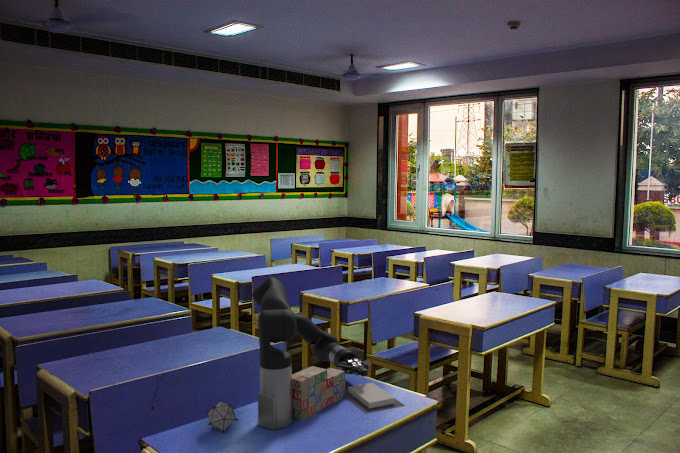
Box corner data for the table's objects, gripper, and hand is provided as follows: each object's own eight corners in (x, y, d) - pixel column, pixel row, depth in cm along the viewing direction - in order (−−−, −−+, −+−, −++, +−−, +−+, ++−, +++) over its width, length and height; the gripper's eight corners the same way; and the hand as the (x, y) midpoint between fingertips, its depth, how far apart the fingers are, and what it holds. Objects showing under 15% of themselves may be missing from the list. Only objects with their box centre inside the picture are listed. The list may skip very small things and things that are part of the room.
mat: (336, 391, 183) (336, 390, 183) (373, 385, 189) (373, 383, 189) (365, 415, 164) (365, 413, 164) (405, 407, 170) (405, 405, 170)
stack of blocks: (330, 394, 181) (330, 358, 180) (345, 399, 177) (345, 361, 176) (286, 416, 164) (285, 376, 163) (301, 421, 160) (301, 380, 159)
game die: (218, 440, 156) (214, 405, 161) (244, 431, 155) (239, 396, 160) (202, 436, 149) (198, 400, 154) (229, 427, 147) (225, 391, 152)
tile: (348, 386, 180) (369, 402, 167) (372, 382, 184) (394, 397, 171) (348, 392, 181) (369, 409, 167) (372, 388, 184) (394, 404, 171)
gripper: (325, 350, 191) (346, 365, 176) (359, 346, 197) (382, 359, 181) (325, 371, 192) (347, 387, 176) (359, 366, 197) (382, 381, 182)
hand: (365, 373), depth 179 cm, fingers closed
